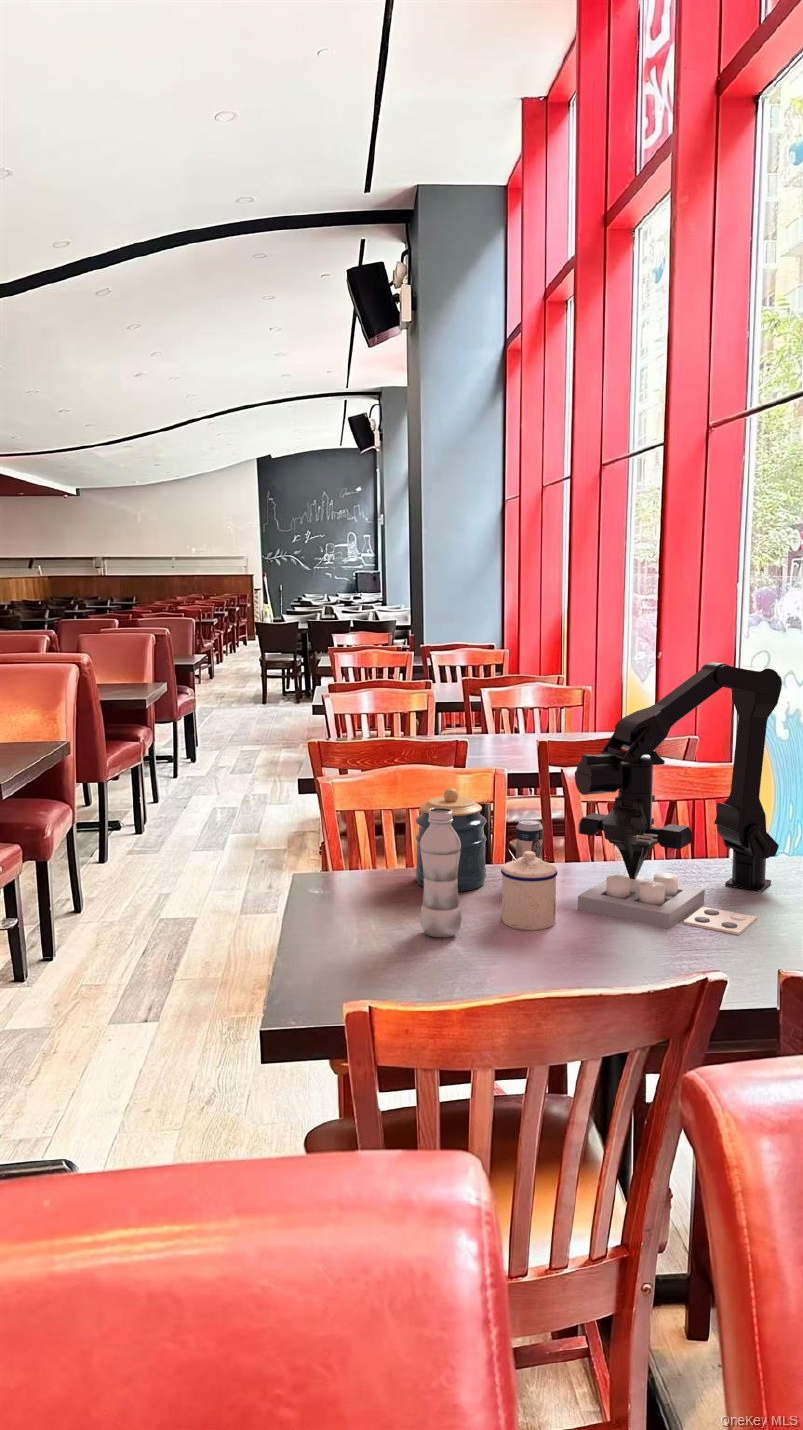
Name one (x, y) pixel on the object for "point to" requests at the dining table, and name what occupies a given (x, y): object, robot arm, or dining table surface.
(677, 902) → the board
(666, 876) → the button
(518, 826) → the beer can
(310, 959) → the dining table surface
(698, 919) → the card
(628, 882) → the button
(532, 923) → the teacup with lid
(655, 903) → the button
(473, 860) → the canister
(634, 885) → the button
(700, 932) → the dining table surface
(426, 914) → the plastic bottle
